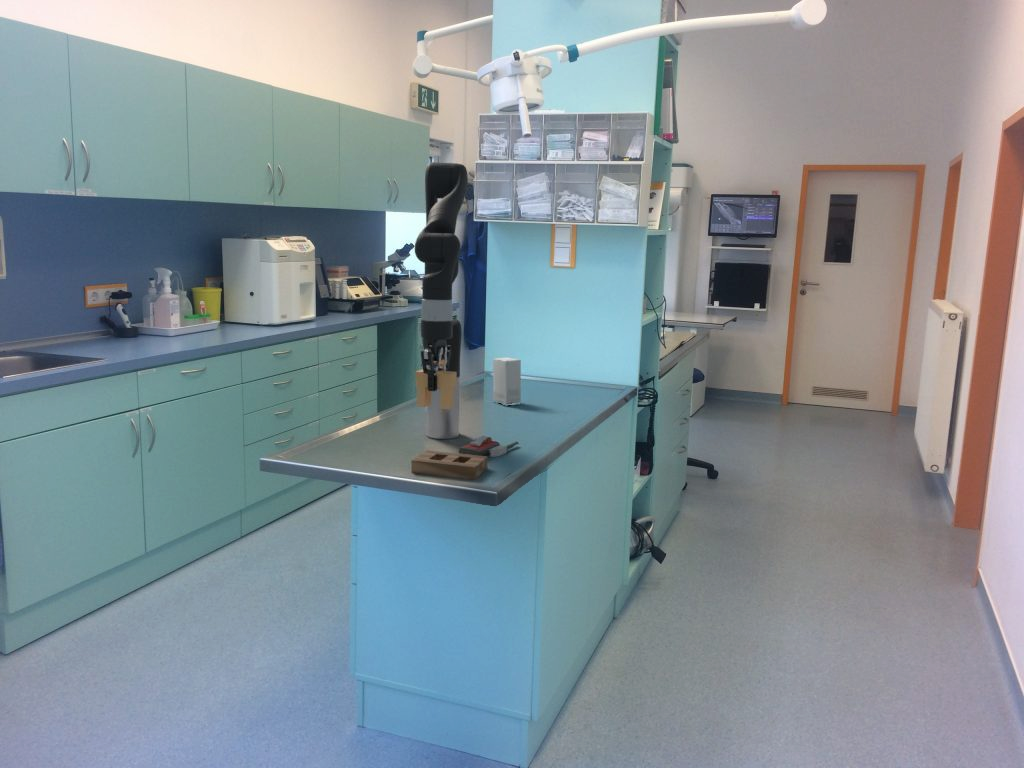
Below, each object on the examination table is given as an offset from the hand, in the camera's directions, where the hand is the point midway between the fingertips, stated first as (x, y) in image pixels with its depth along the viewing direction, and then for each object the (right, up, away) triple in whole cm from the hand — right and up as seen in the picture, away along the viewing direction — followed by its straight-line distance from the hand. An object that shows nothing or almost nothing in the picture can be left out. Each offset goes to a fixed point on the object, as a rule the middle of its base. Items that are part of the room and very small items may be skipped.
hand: (436, 389), depth 195 cm
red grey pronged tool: (+12, -17, +20) cm, 29 cm away
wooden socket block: (+3, -20, +2) cm, 20 cm away
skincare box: (+16, -6, +83) cm, 85 cm away
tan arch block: (0, -4, +1) cm, 4 cm away
